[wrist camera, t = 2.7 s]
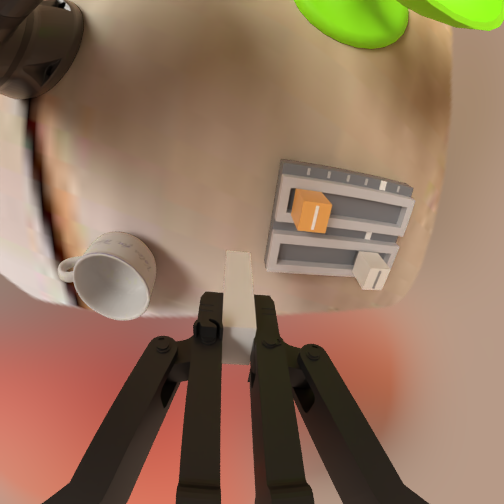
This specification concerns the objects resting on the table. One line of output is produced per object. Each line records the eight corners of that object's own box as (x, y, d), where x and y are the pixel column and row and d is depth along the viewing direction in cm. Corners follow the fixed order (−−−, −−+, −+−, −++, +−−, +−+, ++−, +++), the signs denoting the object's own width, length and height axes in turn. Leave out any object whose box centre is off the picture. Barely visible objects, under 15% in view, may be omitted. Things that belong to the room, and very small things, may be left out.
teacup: (171, 238, 36) (157, 273, 29) (153, 296, 41) (141, 333, 34) (82, 205, 32) (52, 231, 26) (75, 266, 37) (53, 297, 30)
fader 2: (355, 246, 35) (371, 268, 31) (374, 248, 35) (390, 270, 31) (349, 266, 37) (362, 290, 32) (367, 267, 37) (381, 290, 33)
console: (281, 159, 31) (285, 164, 28) (406, 183, 33) (418, 191, 30) (264, 260, 38) (266, 273, 36) (377, 268, 40) (385, 280, 37)
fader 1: (293, 185, 31) (303, 201, 26) (318, 188, 31) (332, 205, 26) (288, 210, 32) (297, 231, 28) (313, 213, 33) (325, 233, 28)
